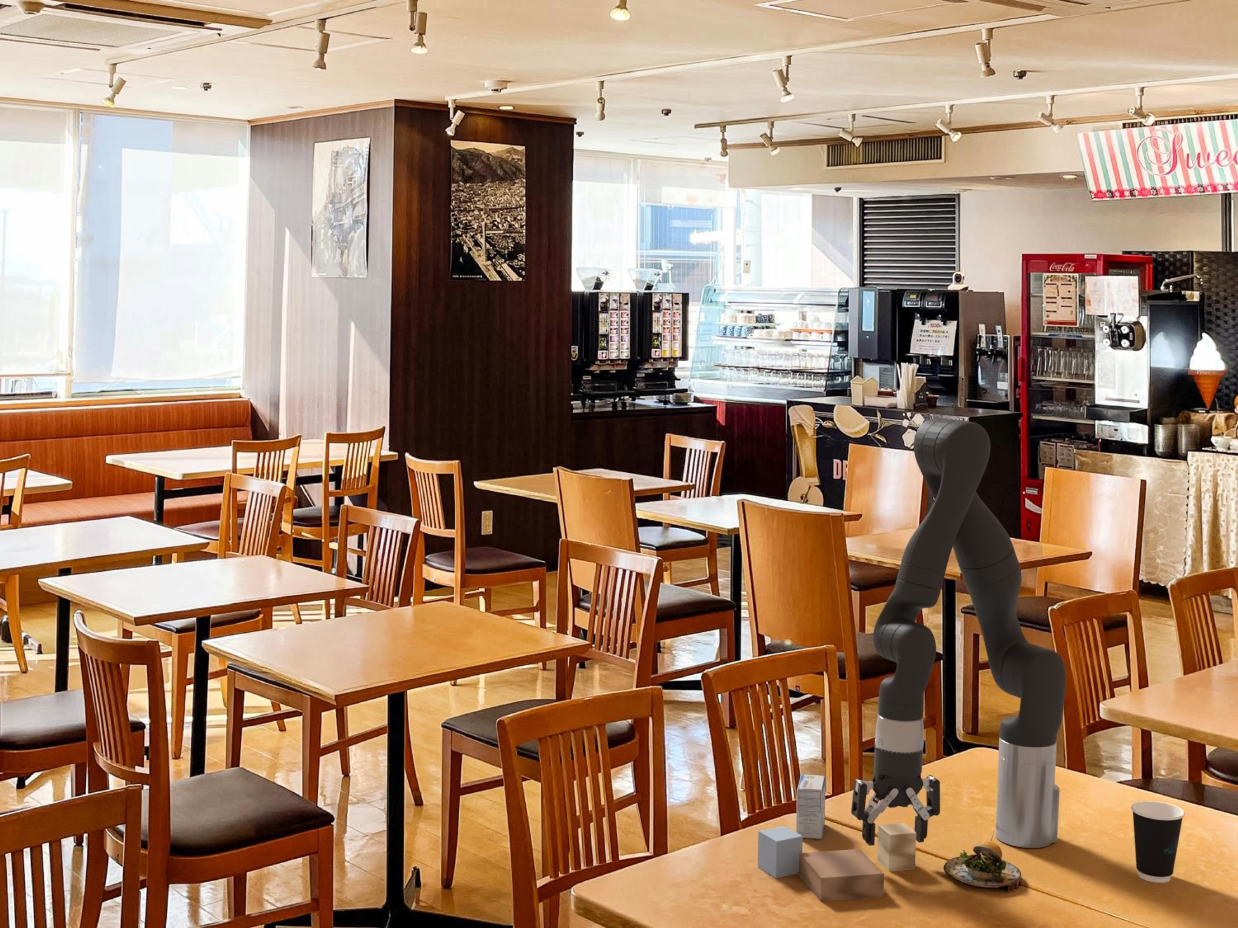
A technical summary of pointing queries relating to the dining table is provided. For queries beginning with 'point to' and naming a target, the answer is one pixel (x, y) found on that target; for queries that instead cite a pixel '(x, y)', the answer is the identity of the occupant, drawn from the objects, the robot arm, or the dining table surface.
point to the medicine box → (810, 806)
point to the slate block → (779, 851)
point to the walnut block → (841, 875)
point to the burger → (984, 868)
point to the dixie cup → (1156, 839)
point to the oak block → (896, 847)
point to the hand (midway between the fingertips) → (894, 842)
